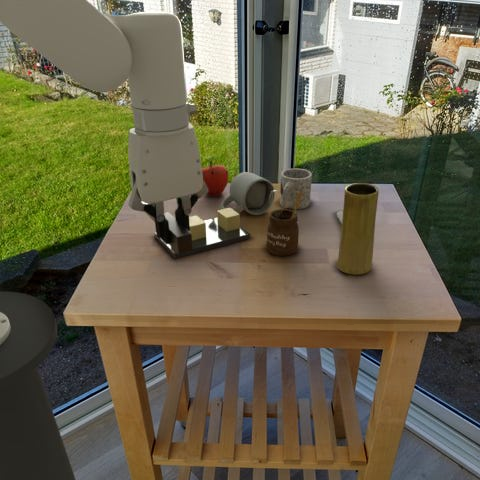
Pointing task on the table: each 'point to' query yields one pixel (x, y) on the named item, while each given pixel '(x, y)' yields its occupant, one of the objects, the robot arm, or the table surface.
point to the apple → (215, 178)
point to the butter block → (197, 227)
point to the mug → (295, 187)
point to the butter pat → (228, 219)
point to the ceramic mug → (250, 194)
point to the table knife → (178, 235)
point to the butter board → (210, 238)
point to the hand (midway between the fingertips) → (173, 237)
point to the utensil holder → (283, 229)
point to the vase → (358, 228)
